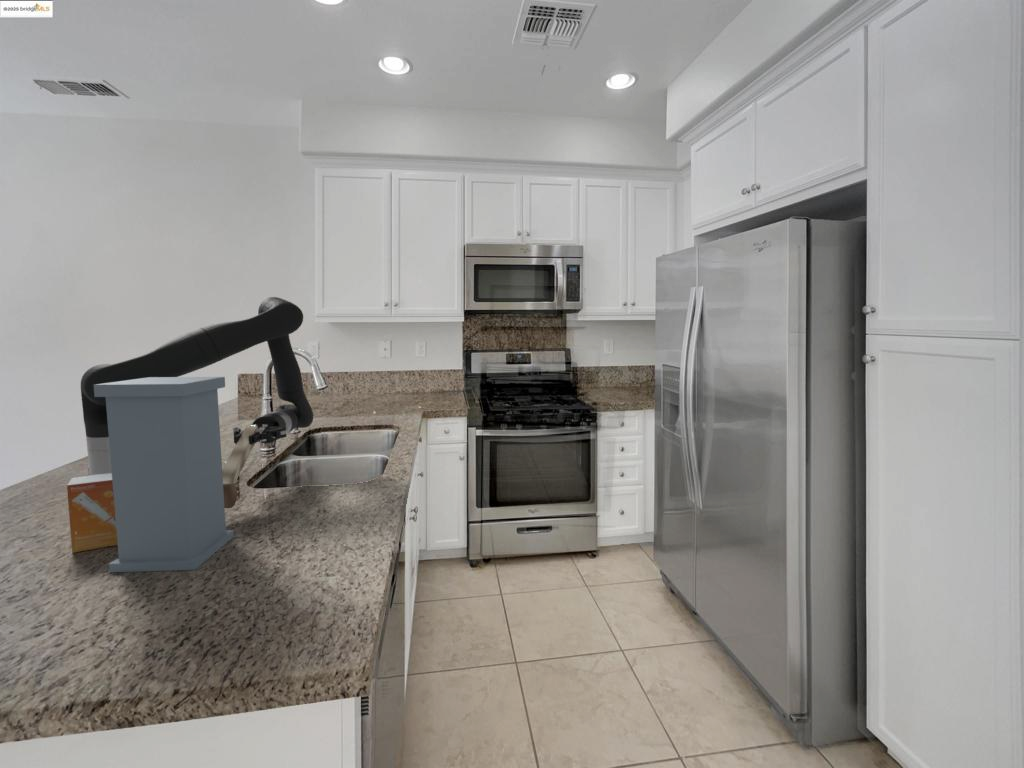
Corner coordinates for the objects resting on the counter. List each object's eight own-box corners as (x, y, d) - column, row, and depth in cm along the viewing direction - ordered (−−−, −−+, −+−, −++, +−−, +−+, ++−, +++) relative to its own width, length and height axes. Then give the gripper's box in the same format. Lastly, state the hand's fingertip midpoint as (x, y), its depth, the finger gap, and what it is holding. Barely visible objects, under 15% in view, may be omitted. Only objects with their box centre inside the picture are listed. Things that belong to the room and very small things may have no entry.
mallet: (230, 513, 107) (223, 497, 104) (195, 514, 106) (187, 497, 103) (269, 433, 127) (263, 418, 124) (240, 434, 126) (234, 418, 123)
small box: (71, 554, 93) (65, 485, 92) (77, 542, 99) (71, 476, 97) (126, 544, 98) (121, 478, 96) (129, 533, 103) (124, 470, 102)
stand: (109, 572, 86) (93, 384, 83) (160, 539, 100) (148, 377, 97) (195, 569, 87) (182, 384, 84) (234, 537, 101) (224, 376, 98)
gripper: (245, 413, 137) (211, 425, 119) (298, 412, 138) (272, 424, 120) (246, 440, 137) (213, 456, 120) (299, 439, 138) (274, 455, 121)
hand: (243, 440), depth 120 cm, fingers closed on mallet, 2 cm apart
